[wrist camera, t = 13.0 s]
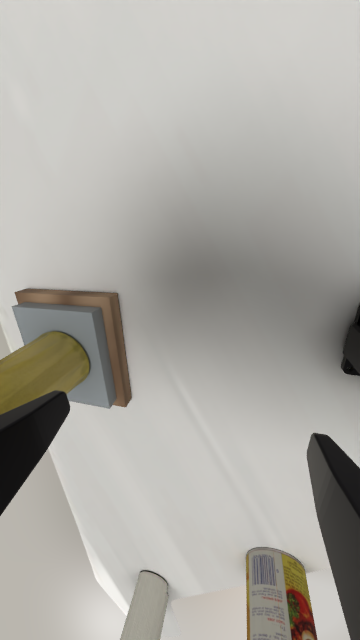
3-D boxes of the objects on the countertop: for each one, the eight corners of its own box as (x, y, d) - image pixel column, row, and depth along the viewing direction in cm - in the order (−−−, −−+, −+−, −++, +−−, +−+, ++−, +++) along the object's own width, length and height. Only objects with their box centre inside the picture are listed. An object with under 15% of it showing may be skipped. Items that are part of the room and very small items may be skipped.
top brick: (101, 307, 21) (91, 312, 20) (116, 399, 25) (109, 408, 24) (25, 301, 23) (11, 306, 22) (51, 387, 27) (41, 395, 26)
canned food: (267, 581, 34) (279, 742, 24) (235, 550, 33) (231, 703, 23) (316, 578, 31) (356, 765, 20) (281, 543, 30) (304, 720, 19)
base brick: (117, 293, 22) (109, 297, 20) (131, 398, 27) (125, 407, 25) (27, 288, 24) (14, 292, 23) (55, 384, 29) (46, 392, 28)
